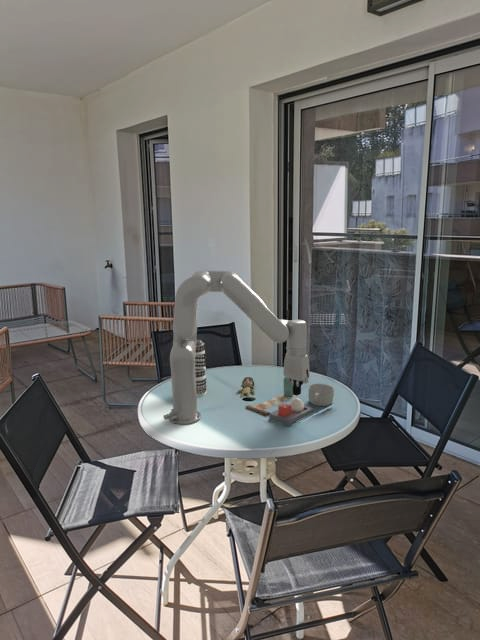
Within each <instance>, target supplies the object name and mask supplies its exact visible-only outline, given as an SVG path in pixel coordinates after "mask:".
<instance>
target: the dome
mask: <svg viewBox="0 0 480 640" xmlns="http://www.w3.org/2000/svg"><path fill="white" fill-rule="evenodd" d="M288 405H291V411H292V412H295V413H300V412H302V411H304V405H305V403H304V401H302V399H301V398H299V397H292V398H291V401H289V402H288Z"/></svg>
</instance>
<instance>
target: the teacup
mask: <svg viewBox="0 0 480 640" xmlns="http://www.w3.org/2000/svg"><path fill="white" fill-rule="evenodd" d="M334 396H335V388H334V386H332V385H329V384H326V383H311V384H309V385H308V401H309V402H310V404H312V405H315V406H316V407H317V406H318V407H327V406H330V405H331V404H332V403H333V400H334Z"/></svg>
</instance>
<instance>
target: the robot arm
mask: <svg viewBox="0 0 480 640" xmlns="http://www.w3.org/2000/svg"><path fill="white" fill-rule="evenodd" d="M210 292H212V293H215V292H216V293H217V292H218V293H221V292H222V293H223V294H224V295H225V296H226V297H227V298H228V299H229V300H230V301H231V302H232V303H233V304H234V305H235V306H237V308H238V309H240V311H241V312H243V313H244V314H245V315H246V317H248V319H250V321H252V322H253V323H254V324H255V325H256V326H257V327H258V328H259V329H260V330H261V331H262V332H263V333H264V334H265V335H266V336H267V338H269V339H270V340H271V341H272V342H274V343H277V344H282V343H284V342H286V341H287V344H286V346H285V349H286V350H287V352H286V353H285V356H284V361H283V376H284V377H286V378H287V379H289V380H290V381H291V384H292V385H293V395H295V396H294V397H297V396H299V395H301V393H302V385H303V384H308V383H309V378H310V360H309V356H308V354H307V342H308V341H307V332H308V331H307V329H308V328H307V326H308V325H307V321H305V320H302V319H292V320H288V319H279V318H278V317H277V316H276V315H275V313H273V312H272V311H271V310H270V309H269V308H268V306H267V305H266V304H265V302H264V300H263V299H262V298H261V297H260V296H259V295H258V294H257V293H256V292H255V291H253V289H252V288H250V286H249V285H248V284H246V283H245V282H244V281H243V280H242V278H241V277H240V276H239V275H238V273H236V272H235V271H229V270H227V271H225V270H224V271H223V270H198V271H195V272H194V273H193V274H192V276H190V277H188V278H187V279H186V280H184V281H182V283H181V284H180V285H179V287H178V288H177V290H176V293H175V298H174V299H175V300H174V309H173V320H172V321H173V322H172V328H171V329H172V332H173V339H172V347H171V350H170V354H169V364H170V365H169V366H170V377H171V391H172V392H171V393H172V394H171V395H172V409H170V412H169V413H166V414H164V415H163V420H164V421H166V420H169V421H170V422H172V423H174V424H178V425H189V424H193V423H196V422H198V421H199V420H200V419H201V418H202V414H201V412H199V410H198V404H197V402H198V400H197V396H196V376H195V351H196V340H197V336H198V335H197V333H198V320H197V306H198V300H199V298H200V297H202V296H204V295H206V294H208V293H210Z"/></svg>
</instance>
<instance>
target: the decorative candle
mask: <svg viewBox="0 0 480 640" xmlns="http://www.w3.org/2000/svg"><path fill="white" fill-rule="evenodd" d="M206 355H207V352H206V351H205V342H203V341H202V340H201V339H196V351H195V376H196V397H201V396H202V395H203V396H205V395H206V394H207V390H208V389H207V387H208V386H207V377H206V369H207V367H206V366H207V363H206V362H207V360H206V359H207V356H206Z"/></svg>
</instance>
